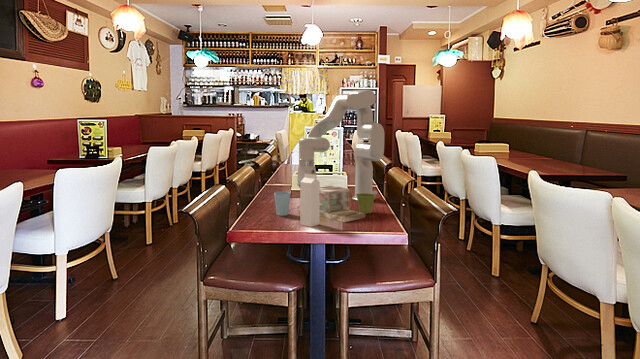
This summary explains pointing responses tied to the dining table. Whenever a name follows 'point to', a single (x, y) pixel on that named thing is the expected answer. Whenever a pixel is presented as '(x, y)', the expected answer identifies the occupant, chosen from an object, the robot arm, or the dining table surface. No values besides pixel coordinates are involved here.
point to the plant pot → (365, 202)
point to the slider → (331, 207)
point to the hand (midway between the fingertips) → (306, 198)
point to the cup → (282, 203)
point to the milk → (309, 200)
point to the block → (325, 202)
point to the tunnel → (341, 198)
